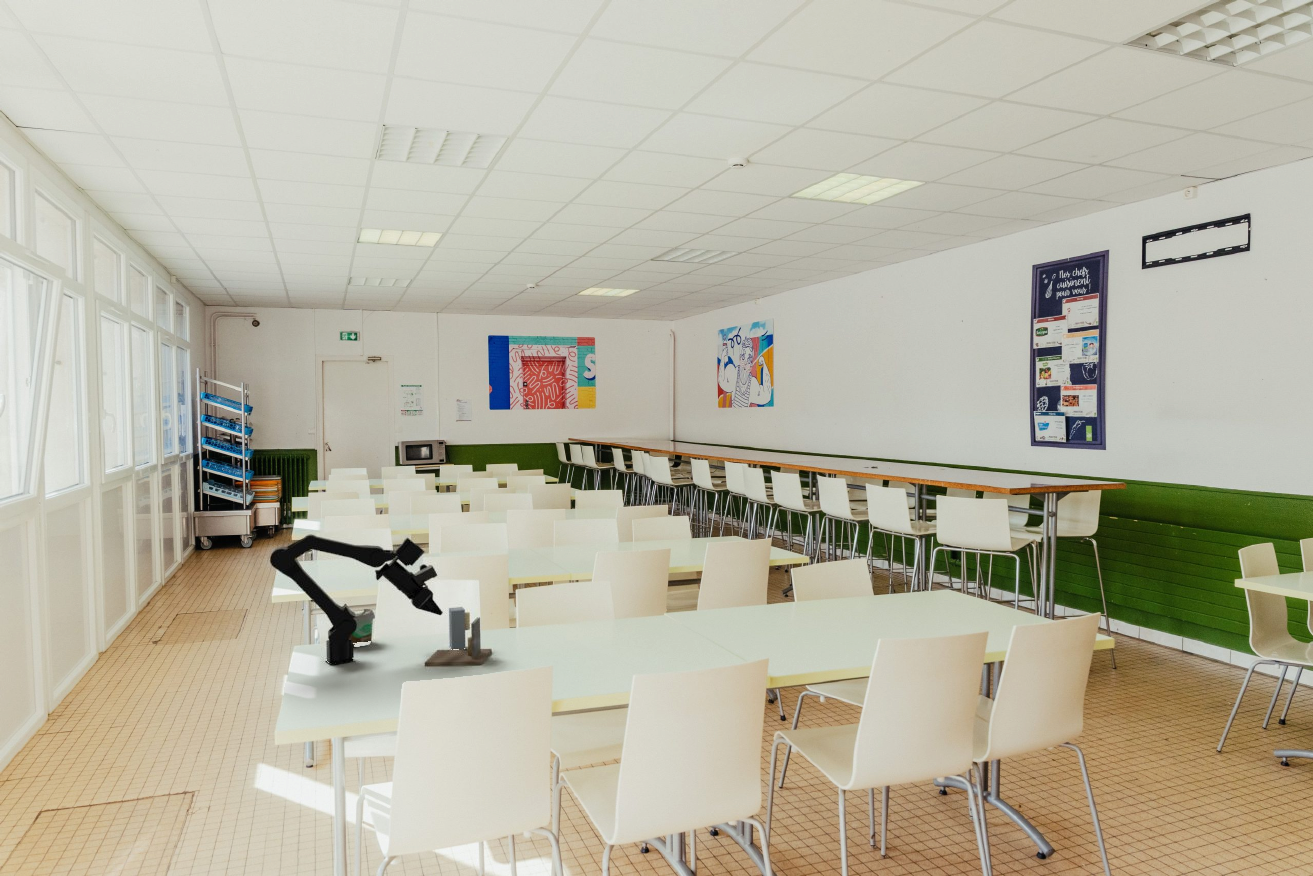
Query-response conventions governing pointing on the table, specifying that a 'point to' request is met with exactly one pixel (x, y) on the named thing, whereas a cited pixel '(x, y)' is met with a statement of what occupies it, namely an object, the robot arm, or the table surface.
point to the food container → (363, 627)
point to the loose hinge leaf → (458, 627)
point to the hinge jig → (462, 651)
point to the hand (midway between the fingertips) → (439, 611)
